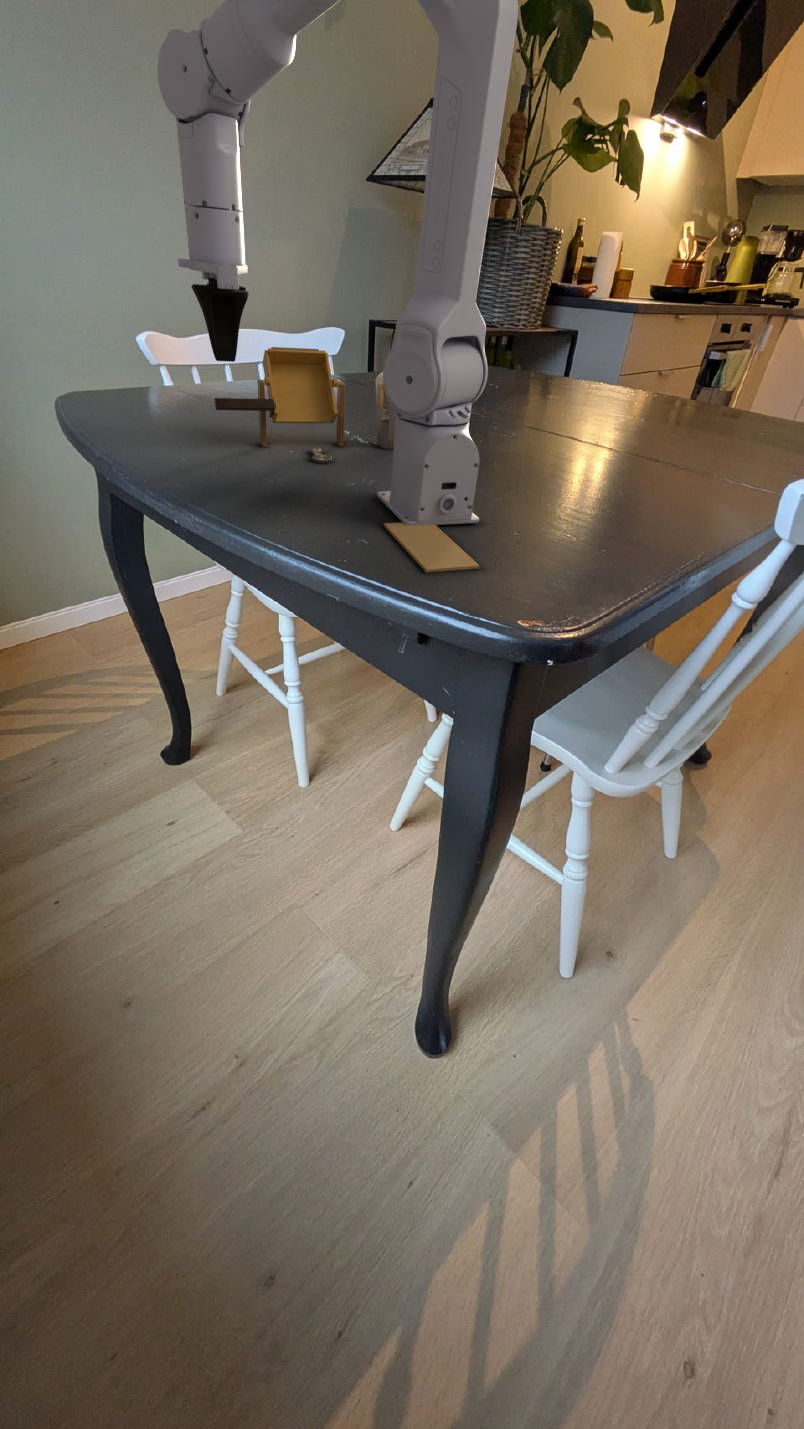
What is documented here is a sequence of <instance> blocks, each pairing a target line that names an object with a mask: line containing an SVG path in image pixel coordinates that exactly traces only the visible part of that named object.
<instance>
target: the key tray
mask: <svg viewBox="0 0 804 1429" xmlns="http://www.w3.org/2000/svg"><path fill="white" fill-rule="evenodd" d="M262 366H263V374H264V378H263V381H264V384H265V386H266V390H267V391H266V392H267V398H265V399H258V398H232V397H230V398H228V397H227V398H226V397H215V398H214V406H215V411H247V412H248V411H254V412H256V411H258V412H259V411H266V412H269V413H268V415H269V418H271V422H272V424H335V421H336V420H337V414H338V413H337V399H336V396H335V389H334V388H337V387H338V382H339V378H337V377H333V378H332V376H333V375H332V370H331V365H330V358H329V353H328V352H326V350H322V349H321V350H319V349H318V348H300V347H278V346H271V347H268V348H267V349H265V350H264V352H263V358H262Z"/></svg>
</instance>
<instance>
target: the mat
mask: <svg viewBox="0 0 804 1429" xmlns="http://www.w3.org/2000/svg"><path fill="white" fill-rule="evenodd" d="M383 527H384V528H385V529H386V530H387V532H389V534H390V535H391V536H392V537H393V538H394V539H395V540H396V541H397V542H398V543H399V545H400V546H401V547H402V548H403V549H404V551H406V552H407V553H408V555H409V556H410V557H411V558H412V559H413V560H414V561H415V562H416V563H417V564H418V565H419V566H420V568H421V569H422V570H423V571H424V572H425V573H437V572H440V573H441V572H451V571H452V572H453V571H463V570H464V571H465V570H476V569H477V570H479V569H480V564H479V563H478V562H476V561H475V560H474V559H473V558H472V557H471V556H469V554H468V553H467V552H465V551H464V550H463V548H461V547H460V546H459V545H458V544H457V543H456V542H455V541H454V540H452V539H451V538H450V537H449V535H448V534H446V533H445V532H443V531H442V529H441V528H439V527H438V525H435V524H433V525H413V526H409V525H406V524H404V523H403V522H402V521H401V522H384V523H383Z"/></svg>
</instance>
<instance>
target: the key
mask: <svg viewBox="0 0 804 1429" xmlns="http://www.w3.org/2000/svg"><path fill="white" fill-rule="evenodd" d="M308 450H309V453H310V454H311V455H312V456H311V462H313V463H316V464H329V463H331V462H332V460H333V459H332V456H329V455H326V454H323V451H322V450H321V448H309V449H308Z"/></svg>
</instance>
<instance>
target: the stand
mask: <svg viewBox="0 0 804 1429" xmlns="http://www.w3.org/2000/svg"><path fill="white" fill-rule="evenodd" d="M265 386H266V385H265V383H264V379H257V399H266V388H265ZM336 388H337V389H336V407H337V413H338V414H337V416H336V435H335V436H336V438H335V439H336V441H335V442H336V443H335V444H336V445H338V447H345V444H344V442H345V410H346V408H345V405H346V404H345V403H346V384H345V383H344V382H343V381H338V387H336ZM266 412H267V411H258V422H259V441H260V442H259V443H260V445H261V447H263V448H267V447H268V435H267V434H268V431H267V413H266Z"/></svg>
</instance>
